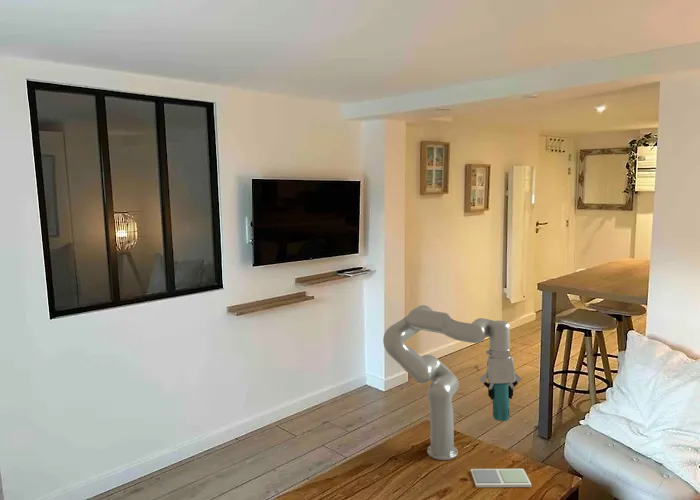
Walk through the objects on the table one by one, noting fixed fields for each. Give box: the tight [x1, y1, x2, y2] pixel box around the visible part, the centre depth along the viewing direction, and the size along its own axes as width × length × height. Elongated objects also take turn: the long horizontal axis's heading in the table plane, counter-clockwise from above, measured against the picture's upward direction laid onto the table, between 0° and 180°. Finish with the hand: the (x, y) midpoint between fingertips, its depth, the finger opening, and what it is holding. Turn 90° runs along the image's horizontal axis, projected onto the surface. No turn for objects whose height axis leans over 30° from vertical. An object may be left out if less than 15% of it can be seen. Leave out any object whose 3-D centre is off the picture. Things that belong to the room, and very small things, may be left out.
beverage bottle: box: [492, 383, 511, 422], centre depth 202 cm, size 6×7×20 cm
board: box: [470, 468, 533, 488], centre depth 195 cm, size 20×11×1 cm, turn 87°
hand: (500, 397), depth 202 cm, fingers closed on beverage bottle, 6 cm apart
